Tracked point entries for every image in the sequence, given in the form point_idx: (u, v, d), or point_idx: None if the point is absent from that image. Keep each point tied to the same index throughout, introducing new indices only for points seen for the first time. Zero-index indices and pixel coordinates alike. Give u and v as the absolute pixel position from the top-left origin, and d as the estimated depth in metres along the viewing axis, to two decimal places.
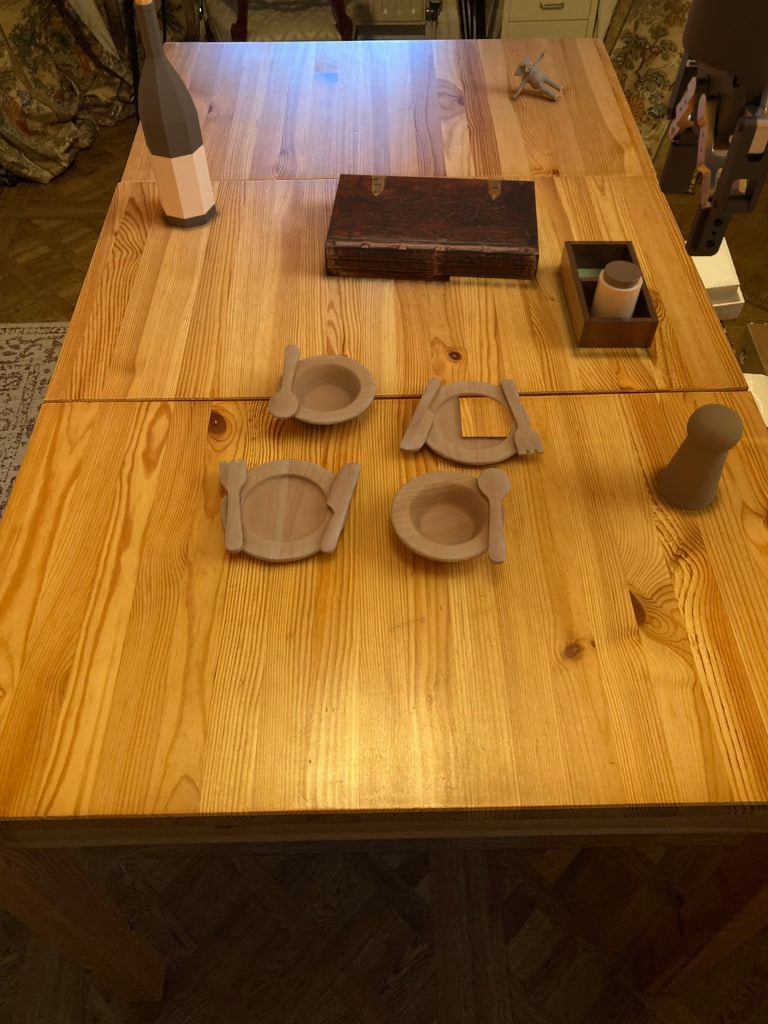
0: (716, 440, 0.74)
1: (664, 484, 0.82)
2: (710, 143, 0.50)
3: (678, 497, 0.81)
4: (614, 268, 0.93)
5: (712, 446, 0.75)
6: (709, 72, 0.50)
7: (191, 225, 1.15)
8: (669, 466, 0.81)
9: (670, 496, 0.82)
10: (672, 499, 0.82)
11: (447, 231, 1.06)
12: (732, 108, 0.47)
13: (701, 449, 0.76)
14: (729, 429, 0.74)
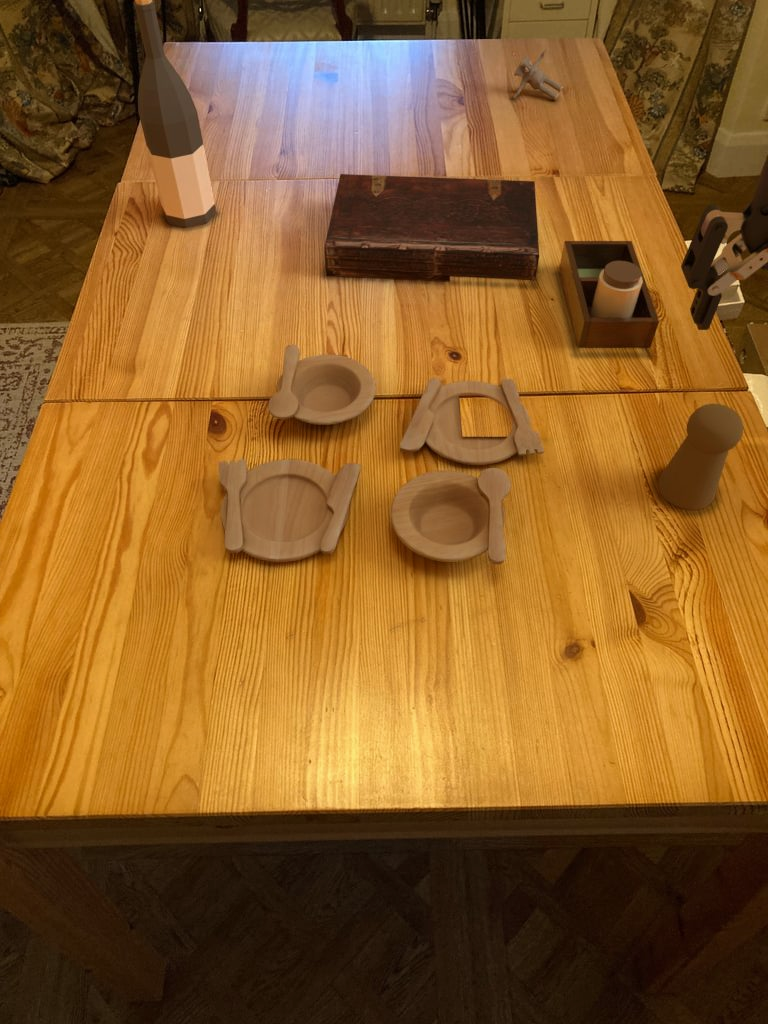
0: (716, 440, 0.74)
1: (664, 484, 0.82)
2: (738, 238, 0.61)
3: (678, 497, 0.81)
4: (614, 268, 0.93)
5: (712, 446, 0.75)
6: None
7: (191, 225, 1.15)
8: (669, 466, 0.81)
9: (670, 496, 0.82)
10: (672, 499, 0.82)
11: (447, 231, 1.06)
12: None
13: (701, 449, 0.76)
14: (729, 429, 0.74)
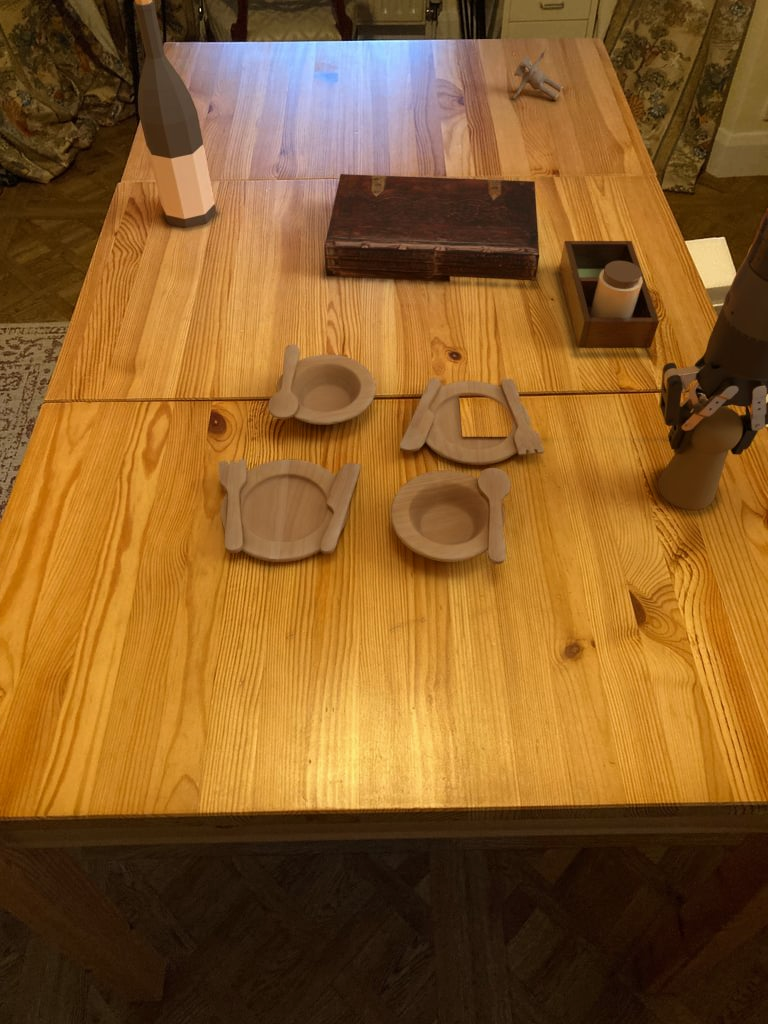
0: (715, 440, 0.74)
1: (664, 484, 0.82)
2: None
3: (678, 497, 0.81)
4: (614, 268, 0.93)
5: (712, 446, 0.75)
6: None
7: (191, 225, 1.15)
8: (669, 466, 0.81)
9: (670, 496, 0.82)
10: (672, 499, 0.82)
11: (447, 231, 1.06)
12: None
13: (701, 449, 0.76)
14: (729, 429, 0.74)
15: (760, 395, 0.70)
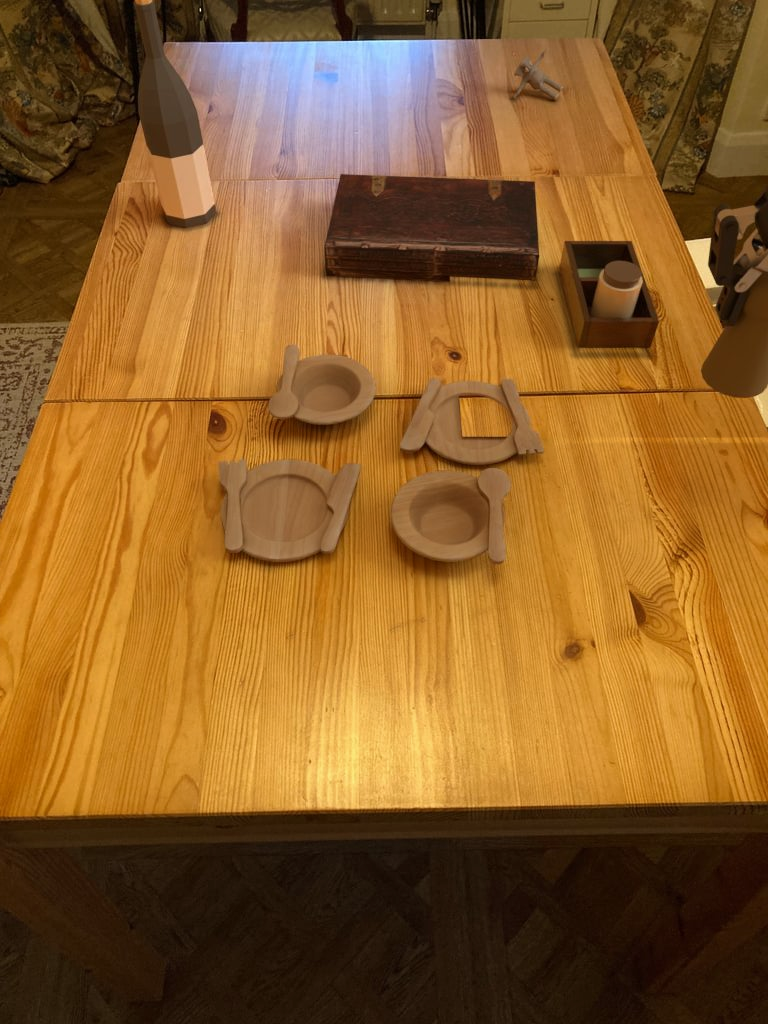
0: None
1: (709, 369, 0.71)
2: None
3: (727, 383, 0.70)
4: (614, 268, 0.93)
5: None
6: None
7: (191, 225, 1.15)
8: (715, 347, 0.70)
9: (716, 382, 0.70)
10: (719, 386, 0.70)
11: (447, 231, 1.06)
12: None
13: (756, 317, 0.64)
14: None
15: None
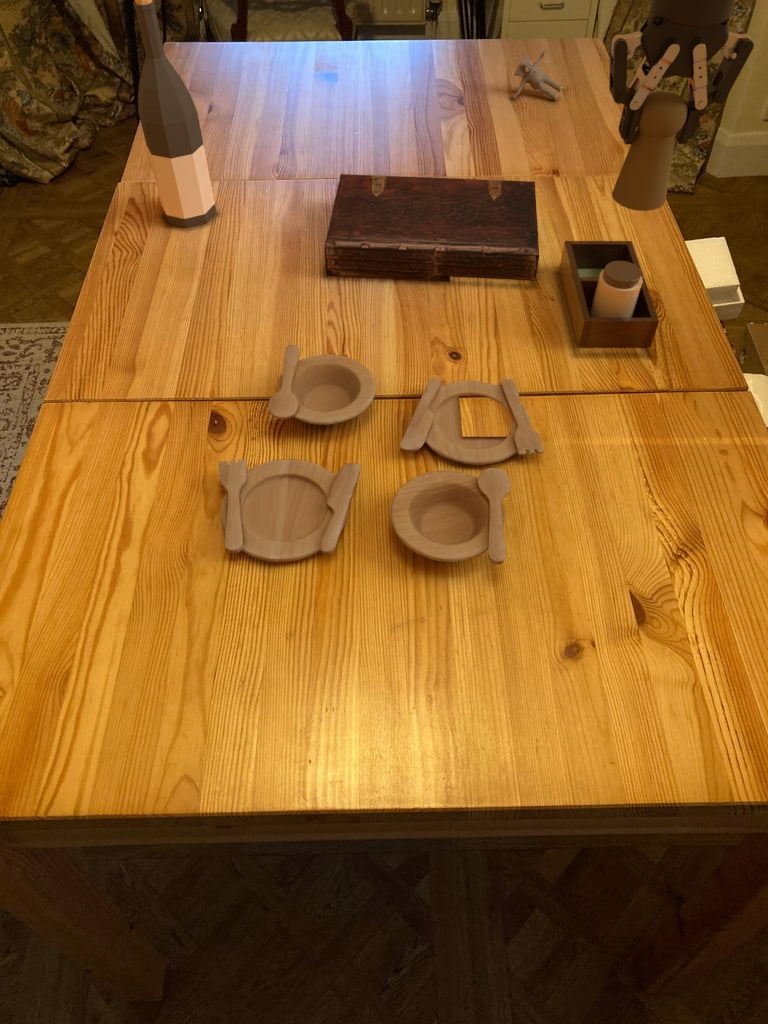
0: (661, 117, 0.79)
1: (617, 189, 0.87)
2: None
3: (630, 197, 0.86)
4: (614, 268, 0.93)
5: (658, 125, 0.79)
6: None
7: (191, 225, 1.15)
8: (621, 169, 0.86)
9: (623, 199, 0.86)
10: (625, 201, 0.86)
11: (447, 231, 1.06)
12: None
13: (649, 133, 0.81)
14: (674, 106, 0.78)
15: (700, 56, 0.75)
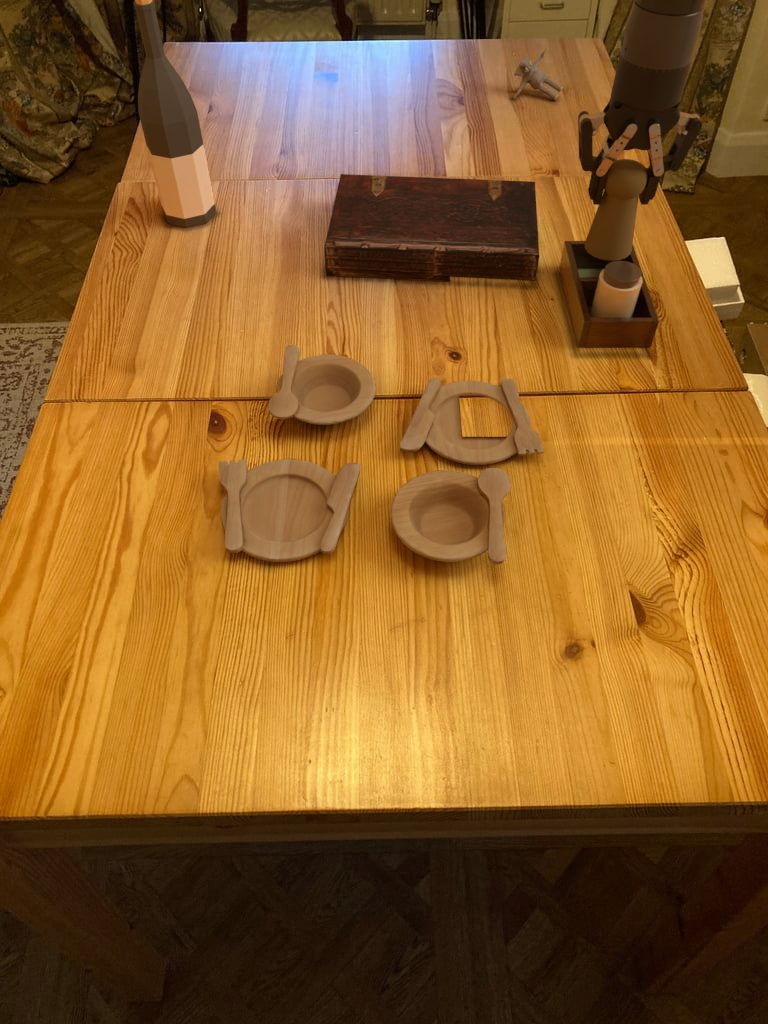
0: (624, 182, 0.90)
1: (588, 241, 0.98)
2: None
3: (599, 249, 0.97)
4: (614, 268, 0.93)
5: (621, 189, 0.91)
6: None
7: (191, 225, 1.15)
8: (592, 224, 0.98)
9: (593, 250, 0.98)
10: (595, 252, 0.98)
11: (447, 231, 1.06)
12: None
13: (613, 195, 0.92)
14: (634, 173, 0.90)
15: (655, 134, 0.86)
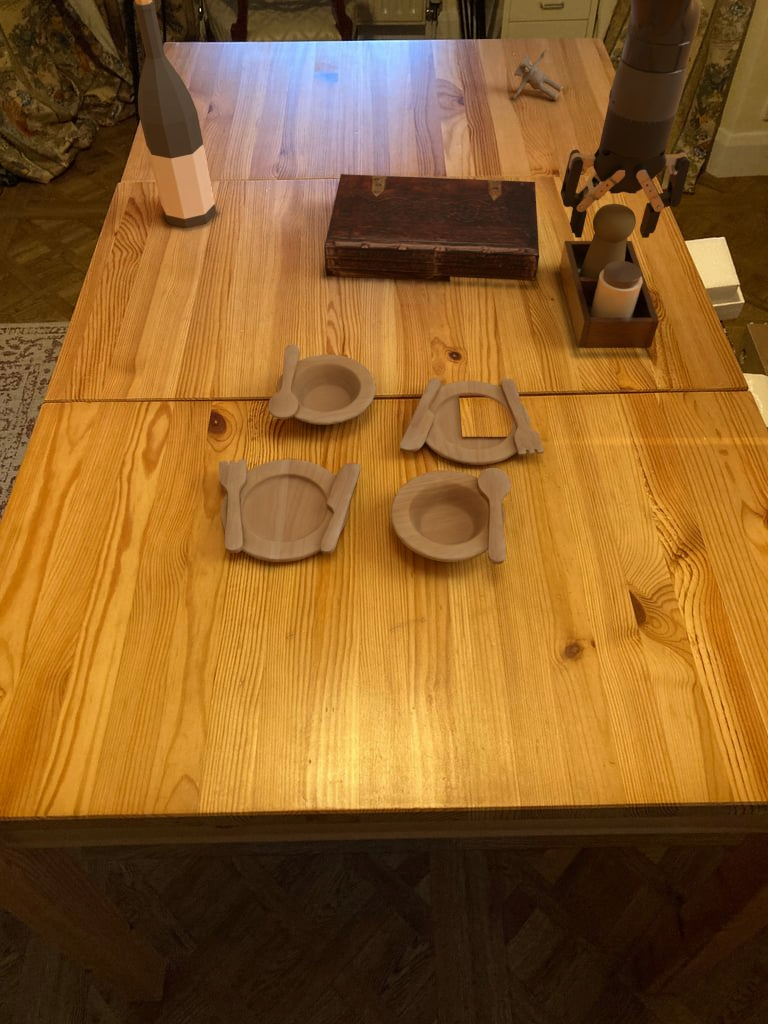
0: (613, 227, 0.95)
1: None
2: (595, 173, 0.93)
3: None
4: (614, 268, 0.93)
5: (610, 233, 0.95)
6: None
7: (191, 225, 1.15)
8: (583, 263, 1.02)
9: None
10: None
11: (447, 231, 1.06)
12: None
13: (603, 238, 0.97)
14: (623, 218, 0.95)
15: (644, 178, 0.90)
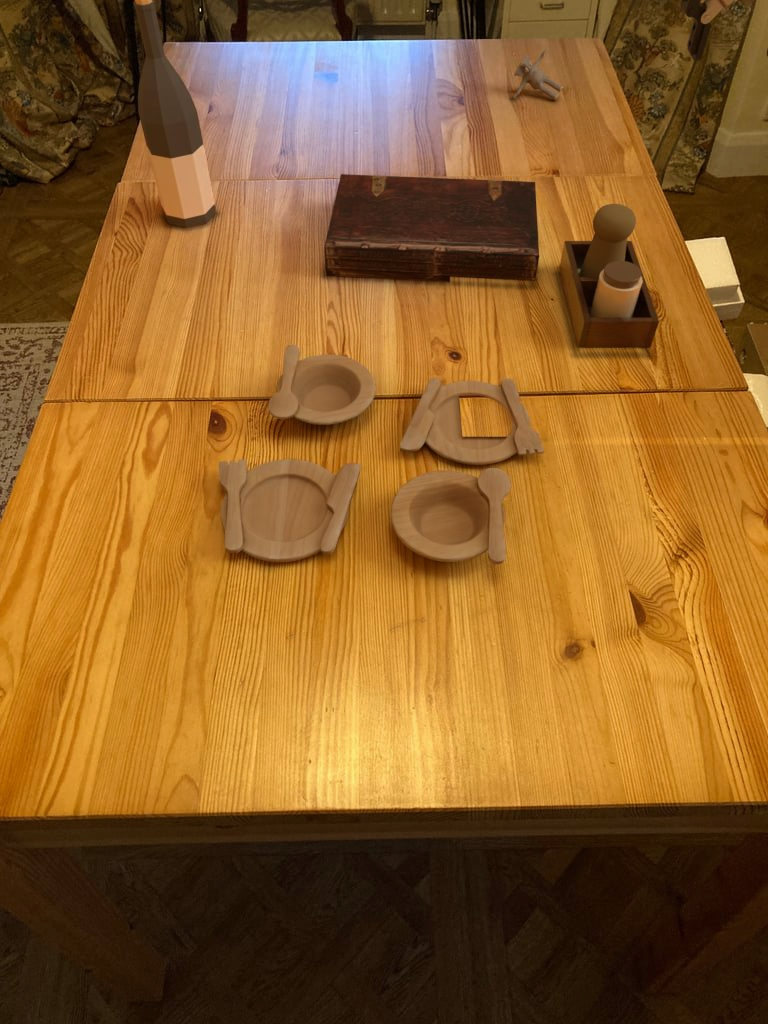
0: (613, 227, 0.95)
1: None
2: None
3: None
4: (614, 268, 0.93)
5: (610, 233, 0.95)
6: None
7: (191, 225, 1.15)
8: (583, 263, 1.02)
9: None
10: None
11: (447, 231, 1.06)
12: None
13: (603, 238, 0.97)
14: (623, 218, 0.95)
15: None
